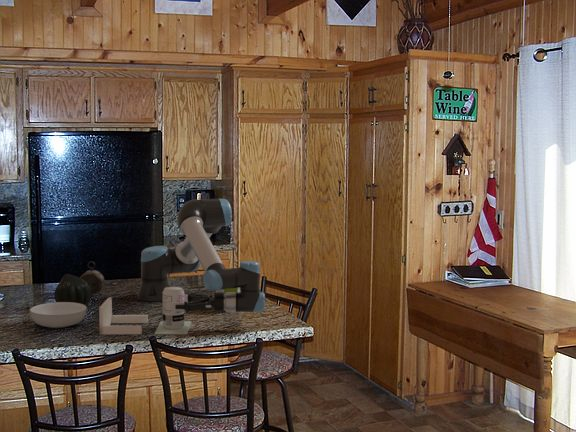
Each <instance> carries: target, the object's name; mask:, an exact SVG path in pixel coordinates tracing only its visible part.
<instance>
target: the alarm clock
mask: <svg viewBox="0 0 576 432" xmlns="http://www.w3.org/2000/svg"><path fill="white" fill-rule="evenodd" d="M90 263H91V261H89V262H88V263H87V267H88V268H89V270H87V271H85V272H84V273H83V274H81V276H80V277H79V278H81V279H83V280H84V281H86V282H87V284H88V285H89V287H90V289H91V296H94V295H97V294H98V295H100V297H102V296H103V295H102V293H101V291H102V290H103V289H104V288H105V283H106V282H105V281H106V280H105V277H104V275H103V274H102V273H101V271H98V270H96V269H95V266H96V263H95V262H94V261H92V263H93V265H94V267H90V266H89V264H90Z"/></svg>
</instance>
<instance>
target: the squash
mask: <svg viewBox="0 0 576 432" xmlns="http://www.w3.org/2000/svg"><path fill="white" fill-rule="evenodd" d="M53 296H54V300H55V302H72V303H79V304H83V305H85V306H86V305H88V304H89V303H90V301H91V300H92V295H91V289H90V287H89V285H88V284H87V282H86V281H84V280H83V279H81V278H80V277H78V276H76V275H73V274H68V273H65V274H64V275H63V276H62V278H61V280H60V281H59V283H58V284H57V286H56V288H55V290H54V295H53Z"/></svg>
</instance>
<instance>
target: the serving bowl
mask: <svg viewBox="0 0 576 432" xmlns="http://www.w3.org/2000/svg"><path fill="white" fill-rule="evenodd" d="M87 309H88V307H87V306H86V305H83V304H79V303H72V302H56V301H55V302H49V303H41V304H37V305H35V306H32V307H31V308H30V309H29V314H30V317H31V319H32V320H33V321H34V323H36V324H37V325H39V326H42V327H46V328H50V329H62V328H67V327H71V326H74V325H77V324H78V323H80V322H81V321H83V319H84V318H85V316H86V314H87Z"/></svg>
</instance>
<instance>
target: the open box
mask: <svg viewBox="0 0 576 432" xmlns="http://www.w3.org/2000/svg"><path fill="white" fill-rule="evenodd" d="M112 303H113V297H107V299H106V300H104V301H103V303H102V304H101V306H99V308H98V309H99V311H98V312H99V314H98V315H99V316H98V317H99V320H98V322H99V335H142V334H143V328H142V327H143V326H142V325H112V324H148V323H149V315H148V314H113V304H112Z"/></svg>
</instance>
